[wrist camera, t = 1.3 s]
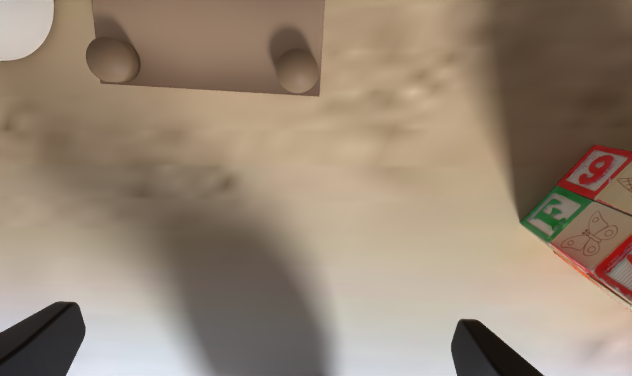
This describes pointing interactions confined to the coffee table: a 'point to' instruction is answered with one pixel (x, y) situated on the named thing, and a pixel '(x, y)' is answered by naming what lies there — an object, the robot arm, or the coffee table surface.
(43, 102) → the coffee table surface
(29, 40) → the can
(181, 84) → the base brick
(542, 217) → the stack of blocks
